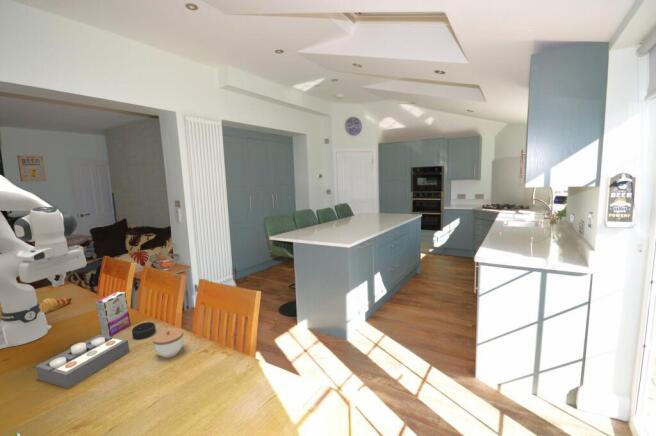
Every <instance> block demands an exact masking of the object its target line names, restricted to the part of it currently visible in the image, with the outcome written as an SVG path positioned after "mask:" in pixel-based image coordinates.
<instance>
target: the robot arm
mask: <svg viewBox="0 0 656 436" xmlns="http://www.w3.org/2000/svg"><path fill="white" fill-rule="evenodd" d="M1 211H2V212H3V211H5V212H7V211H8V212H9V211H10V212H12V211H13V212H15V211H16V212H17V211H18V212H20V211H21V212H22V211H24V212H30V213H29V214H27V215H25V216H23V217H20V218H18V219H17V220H16V221H15V222H14V224H13V229H12V227H11V225H10V224H9V222H8V220H7V219H6V217H5V216H4V215H3V213H2V212H1ZM77 227H78V221H77V219H76V217H75V216H74V215H73V214H71V213H70V212H68V211H66V210H62V209H60V208H59V207H57V206H56V205H54V204H52V203H50V202H49V201H48V200H46V199H44V198H43V197H41V196H39V195H38V194H35V193H33V192H30V191H27V190H24V189H22V188H21V187H19V186H16V185H15V183H14V182H13V181H12V180H10V179H9V178H6V176H5V177H4V176H3V175H1V174H0V307H1V311H0V350H2V349H6V348H11V347H16V346H20V345H21V346H22V345H25V344H28V343H31V342H33V341H36V340H39V339H40V338H42V337H44V336H46V335H47V334H48V332H49V331H50V330H51V329H52V328H53V327H52V325H50V324H48V321H47V319H46V318H47V317H46V315H45V314H46V313H45V314H44V313H43V312H40V305H39V303H40V302H38V298H37V293H36V289H35V288H34V286H33V285H30V284H31V283H33V282H37V281H41V280H44V279H47V280H48V281H49V282H50V283H51V285H52V287H53V288H57V287H61V286H64V285H65V279H66V277H67V273H69V272H72V271H75V270H78V269H83V268H85V267H86V266H87V264H88V263H87V259H86V256H85V253H84V247H83V246H81V245H78V244H75V245H71V246H68V243H67V237H70V236H71V235H72V234H73V233H74V232H75V231H76V230H77ZM27 242H29V243H30V242H34V246H33V245H31V244H29V243H27ZM56 276H59V278H58V280H55V279H56ZM17 278H19V280H20V281H21V282H22V283H20V282H19V283H18V281H17Z"/></svg>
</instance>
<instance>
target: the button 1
mask: <svg viewBox="0 0 656 436" xmlns="http://www.w3.org/2000/svg"><path fill="white" fill-rule="evenodd" d="M65 363H67V362H66V358H65V357H60V358H56V359H54V360H52V361H51V362H50V363H49V364H50V366H51V367H54V368H55V369H56V368H57V367H59V366H61V365H63V364H65Z"/></svg>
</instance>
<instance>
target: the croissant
mask: <svg viewBox="0 0 656 436" xmlns="http://www.w3.org/2000/svg"><path fill="white" fill-rule="evenodd" d="M71 301H72V298H71V297H67V298H66V297H63V298H59V297H57V298H54V297H46V298H45V299H43V300H42V301H40V302H38V303H39V305H40V312H43V313H44V314H49V313H51V312H54V311H56V310H58V309H60V308H62V307H65V306H67V305H68V304H69V303H70V302H71Z"/></svg>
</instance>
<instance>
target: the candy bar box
mask: <svg viewBox="0 0 656 436" xmlns="http://www.w3.org/2000/svg"><path fill="white" fill-rule="evenodd" d="M95 304H96V309H97V310H96V311H97V316H98V322H99V326H100V333H101V334H100V335H105V336H110V337H114V336H115V335H116V334H118V333H120V332H121V331H123V330H124V329H126V328H127V327H129V326H130V325H131V319H130V311H129V307H128V301H127V295H126V291H116V292H114V293H111V294H109V295H108V296H105V297H103V298H101V299H99V300H97V301H95Z"/></svg>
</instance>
